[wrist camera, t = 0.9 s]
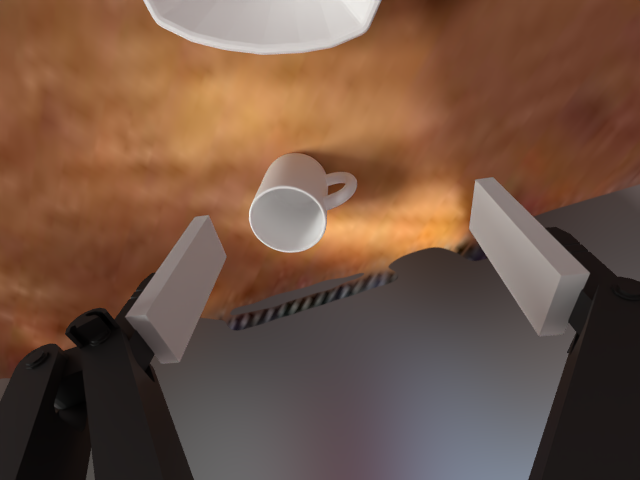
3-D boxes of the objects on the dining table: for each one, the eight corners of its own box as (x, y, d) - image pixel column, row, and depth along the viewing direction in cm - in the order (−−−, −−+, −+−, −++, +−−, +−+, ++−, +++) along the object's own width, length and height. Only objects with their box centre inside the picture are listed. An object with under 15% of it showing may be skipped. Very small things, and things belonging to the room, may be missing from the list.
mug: (346, 133, 38) (350, 166, 29) (362, 193, 42) (368, 236, 34) (256, 160, 40) (235, 198, 32) (279, 214, 45) (266, 259, 36)
